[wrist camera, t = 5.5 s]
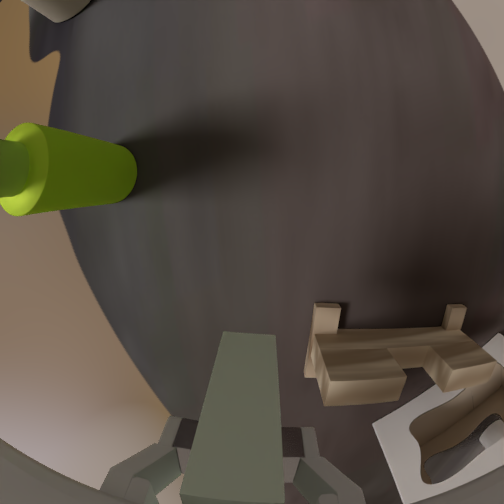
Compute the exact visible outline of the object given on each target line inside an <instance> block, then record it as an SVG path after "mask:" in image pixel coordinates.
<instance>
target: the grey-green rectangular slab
mask: <svg viewBox="0 0 504 504" xmlns="http://www.w3.org/2000/svg"><path fill="white" fill-rule="evenodd" d="M180 497H181V500H182V504H284V503H285V496H284V473H283V452H282V433H281V415H280V398H279V381H278V366H277V351H276V336H275V335H267V334H251V333H237V332H225V331H223V335H222V338H221V342H220V345H219V349H218V353H217V356H216V360H215V364H214V367H213V371H212V375H211V378H210V382H209V385H208V389H207V393H206V396H205V400H204V404H203V407H202V411H201V415H200V419H199V422H198V426H197V430H196V433H195V437H194V441H193V444H192V448H191V452H190V456H189V459H188V463H187V467H186V471H185V474H184V478H183V482H182V486H181V489H180Z"/></svg>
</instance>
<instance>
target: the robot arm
mask: <svg viewBox="0 0 504 504" xmlns="http://www.w3.org/2000/svg"><path fill="white" fill-rule="evenodd" d="M198 422H199V421H197V420H191V419H186V418H179V417H174V416H170V417H169V418H168V420H167V422H166V425H165V427H164V430H163V433H162V435H161V437H160V440H159V442H158V444H156V443H154V444H152V445H150V446H149V447H147V448H146V449H144V450H142V451H140V452H138V453H137V454H135V455H133V456H131V457H130V458H128V459H126V460H124V461H122V462H121V463H119V464H117V465H115V466H113V467H112V468H110V470H109V472H108V474H107V476H106V478H105V480H104V482H103V484H102V486H101V488H100V490H97V489H95V488H92V487H89V486H87V485H85V484H82V483H80V482H78V481H75V480H73V479H71V478H69V477H66V476H65V475H62V474H60V473H58V472H56V471H54V470H52V469H50V468H48V467H47V466H45V465H43V464H41V463H39V462H38V461H36V460H34V459H32V458H30V457H29V456H27V455H25V454H24V453H22V452H21V451H19V450H17V449H16V448H14V447H13V446H11V445H10V444H8V443H6V442H5V441H4V440H2V439H1V438H0V504H159V502H158V500H157V498H156V495H157V494H158V493H159V492H161V491H162V490H163V489H164V488H165V487H166V486H168V485H169V484H170V483H171V482H173V481H174V480H175V479H176V478H178V477H179V476H180V475H181V473H183V474H185V471H186V467H187V463H188V459H189V456H190V452H191V448H192V444H193V441H194V437H195V433H196V430H197V426H198ZM281 433H282V452H283V473H284V482H293V484H294V485H295V487H296V488H297V489H298V490H299V492H300V493H301V494H302V495H303V496H304V498H305V499H306V500H307V501H308V502H309V503H310V504H366V503H365V499H364V495H363V491H362V489H361V488H360V487H359V486H357V485H356V484H355V483H354V482H352V481H351V480H350V479H349V478H348V477H346V476H345V475H344V474H343V473H342V472H340V471H339V470H338V469H337V468H336V467H334V466H333V465H332V464H331V463H330V462H329V461H328V460H326V459H325V458H324V457H320V456H319V450H318V445H317V439H316V434H315V429H314V427H301V428H300V427H281ZM410 504H504V465H502V466H500V467H498V468H496V469H494V470H492V471H490V472H488V473H487V474H485V475H482V476H480V477H478V478H476V479H474V480H472V481H470V482H468V483H465V484H463V485H461V486H458V487H456V488H453V489H451V490H448V491H446V492H443V493H440V494H438V495H435V496H432V497H429V498H426V499H423V500H420V501H417V502H414V503H410Z"/></svg>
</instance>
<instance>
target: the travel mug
mask: <svg viewBox="0 0 504 504" xmlns="http://www.w3.org/2000/svg"><path fill="white" fill-rule="evenodd" d="M21 1H23V2H25V3H26V4H28V5H29V6H31V7H32V8H34V9H35V10H37V11H38V12H40V13H41V14H43V15H44V16H46V17H47V18H49V19H50V20H52V21H53V22H62V21H65V20H67V19H69V18H71V17H73V16H74V15H76V14H77V13H78V12H80V11H81V10H82V9H83V8H84V7H85V6H86V5H87V4H88V3H89V2H90V1H91V0H21Z"/></svg>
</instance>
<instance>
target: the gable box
mask: <svg viewBox="0 0 504 504" xmlns="http://www.w3.org/2000/svg"><path fill="white" fill-rule="evenodd" d="M482 348H483V349H484V350H485V351H486V352H487V353H489V354H490V355H491V356H492V357H493V358H494V359H496V360H497V363H496V365H495V368H494V370H493V372H492V375H491V377H490V379H489V381H488V382H487V383H483V384H480V385H476V386H472V387H468V388H464V389H459V390H455V391H450V392H445V393H443V392H442V391H441V389H440V388H439V387H438V386H437V384H435V385H434V386H432V387H431V388H429V389H428V390H426V391H425V392H424V393H422V394H421V395H419V396H417V397H416V398H414V399H413V400H411V401H410V402H408V403H407V404H405V405H403V406H402V407H400V408H398V409H397V410H395V411H393V412H392V413H390V414H388V415H386V416H385V417H383V418H381V419H379V420H377V421H376V422H374V423H373V424H372V425H373V428H374V430H375V432H376V435H377V437H378V440H379V442H380V445H381V447H382V450H383V452H384V455H385V457H386V460H387V462H388V465H389V467H390V470H391V473H392V475H393V478H394V480H395V483H396V486H397V488H398V491H399V494H400V496H401V499H402V502H403V504H410V503H414V502H417V501H420V500H423V499H426V498H429V497H432V496H435V495H438V494H440V493H443V492H446V491H448V490H451V489H453V488H456V487H458V486H461V485H463V484H465V483H468V482H470V481H472V480H474V479H476V478H478V477H480V476H482V475H485V474H487V473H488V472H490V471H492V470H494V469H496V468H498V467H500V466H502V465H504V438H502V439H501V440H499V441H498V442H496V443H495V444H493V445H492V446H490V447H489V448H487V449H486V450H484V451H483V452H482V453H481V454H479V455H478V456H477V457H476V458H475V459H474V460H472V461H471V462H470V463H469V464H468V465H467V466H466V467H464V468H463V469H462V470H461V471H459V472H458V473H457V474H455V475H454V476H452V477H450V478H449V479H447V480H445V481H443V482H440V483H437V484H432V483H431V479H430V477H429V476H428V474H427V473H426V471H425V469H424V464H425V462H426V461H427V460H428V459H429V458H430V457H432V456H433V455H435V454H438V453H440V452H443V451H446V450H448V449H450V448H452V447H454V446H456V445H458V444H459V443H461V442H462V441H464V440H465V439H466V438H467V437H468V436H469V435H470V434H471V433H472V432H473V431H474V430H475V429H476V428H477V427H478V426H479V425H480V424H481V423H482V422H483V421H484V420H485V419H486V418H487V417H488V416H490V415H492V414H498V415H499V416H500V417H501V418H502V420H503V422H504V336H503V335H502V334H500V333H497V334H496V335H495V336H494V337H493V338H492V339H491V340H490V341H489V342H488V343H486V344H485V345H484V346H483V347H482Z"/></svg>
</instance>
